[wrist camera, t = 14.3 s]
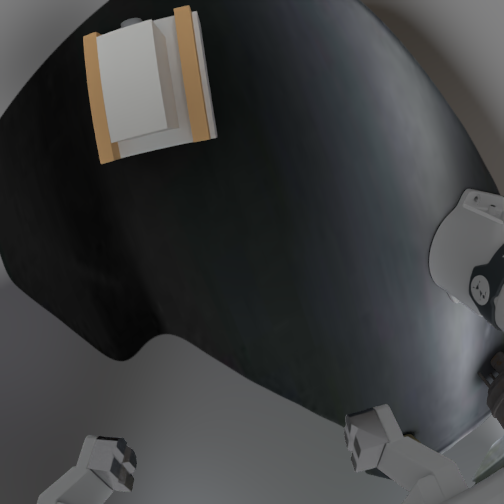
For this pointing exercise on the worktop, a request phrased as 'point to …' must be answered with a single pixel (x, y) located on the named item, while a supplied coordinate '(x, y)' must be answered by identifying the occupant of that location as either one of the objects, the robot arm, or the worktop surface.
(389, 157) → the worktop surface
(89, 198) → the worktop surface
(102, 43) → the white block with knob
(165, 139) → the white tray with rails
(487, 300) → the robot arm
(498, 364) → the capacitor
